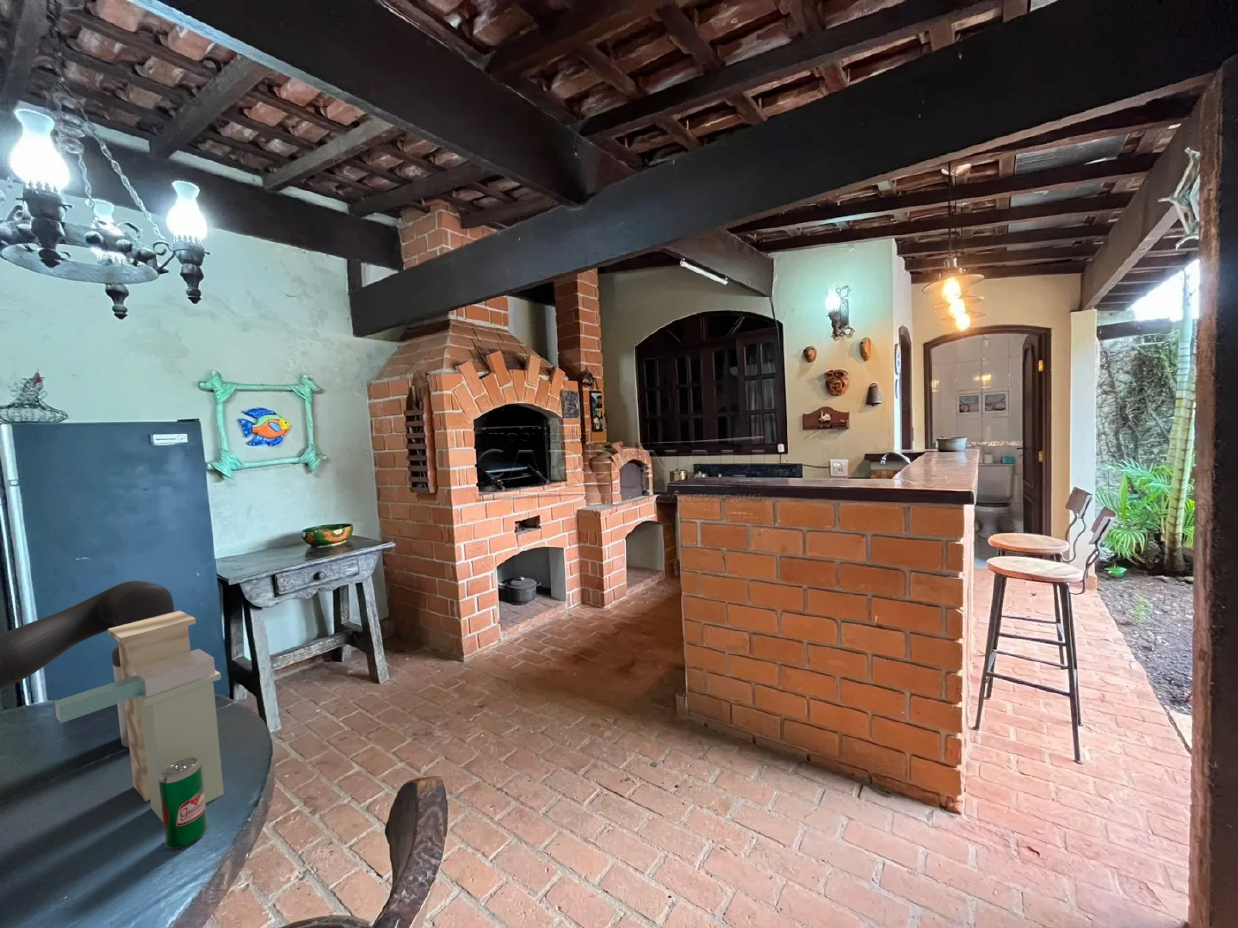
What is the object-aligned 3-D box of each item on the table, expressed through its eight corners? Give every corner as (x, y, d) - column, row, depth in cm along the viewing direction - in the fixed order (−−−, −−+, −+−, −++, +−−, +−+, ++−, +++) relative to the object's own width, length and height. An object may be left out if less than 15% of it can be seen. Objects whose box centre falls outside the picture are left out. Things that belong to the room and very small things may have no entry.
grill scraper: (53, 713, 76) (51, 694, 76) (200, 664, 91) (198, 648, 91) (64, 727, 72) (61, 707, 72) (215, 673, 87) (213, 657, 87)
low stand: (142, 810, 85) (129, 686, 84) (214, 775, 94) (203, 662, 92) (158, 830, 81) (144, 700, 79) (231, 791, 89) (220, 673, 88)
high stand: (125, 788, 91) (107, 628, 89) (194, 757, 99) (179, 610, 97) (139, 805, 87) (120, 638, 84) (210, 771, 95) (195, 618, 93)
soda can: (183, 853, 76) (175, 779, 76) (157, 848, 77) (149, 775, 77) (215, 827, 81) (209, 757, 80) (190, 822, 82) (183, 753, 81)
